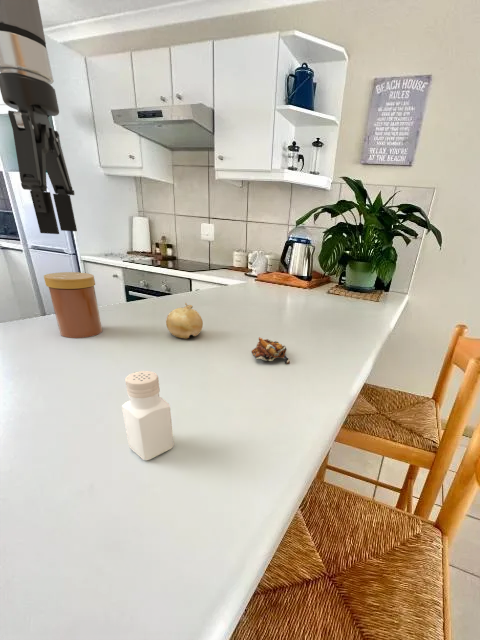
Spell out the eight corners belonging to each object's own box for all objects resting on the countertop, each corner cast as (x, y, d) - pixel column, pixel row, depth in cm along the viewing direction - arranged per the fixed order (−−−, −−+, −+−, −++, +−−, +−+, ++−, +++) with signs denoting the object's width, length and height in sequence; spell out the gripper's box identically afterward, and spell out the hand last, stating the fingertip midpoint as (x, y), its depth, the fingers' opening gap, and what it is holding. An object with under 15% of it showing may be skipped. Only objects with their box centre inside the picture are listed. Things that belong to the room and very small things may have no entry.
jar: (67, 326, 74) (54, 274, 68) (106, 326, 76) (96, 275, 70) (54, 338, 67) (39, 281, 61) (97, 337, 69) (86, 282, 64)
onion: (203, 341, 72) (202, 310, 69) (165, 341, 70) (162, 309, 67) (203, 330, 79) (202, 301, 75) (168, 330, 77) (166, 300, 74)
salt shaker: (158, 434, 41) (149, 366, 37) (176, 448, 39) (169, 377, 35) (127, 448, 38) (113, 376, 34) (144, 464, 36) (132, 389, 32)
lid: (55, 280, 69) (53, 271, 68) (99, 281, 71) (98, 273, 71) (38, 288, 62) (35, 278, 61) (89, 289, 64) (87, 280, 63)
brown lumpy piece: (277, 343, 74) (278, 328, 73) (291, 364, 64) (293, 347, 63) (247, 343, 73) (247, 328, 71) (256, 365, 62) (257, 348, 61)
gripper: (29, 96, 60) (58, 228, 71) (-47, 43, 41) (8, 233, 51) (74, 103, 62) (96, 230, 72) (21, 55, 43) (62, 237, 53)
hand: (60, 232), depth 62 cm, fingers open, 10 cm apart
